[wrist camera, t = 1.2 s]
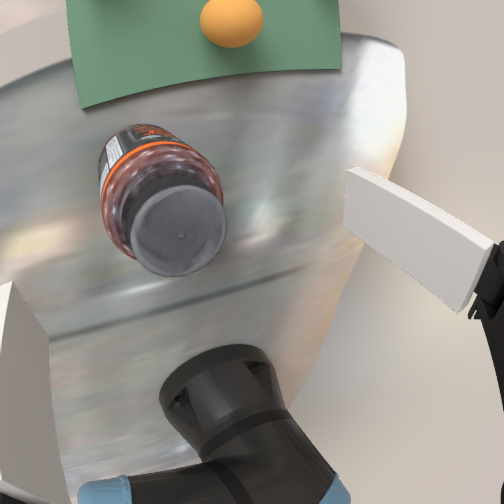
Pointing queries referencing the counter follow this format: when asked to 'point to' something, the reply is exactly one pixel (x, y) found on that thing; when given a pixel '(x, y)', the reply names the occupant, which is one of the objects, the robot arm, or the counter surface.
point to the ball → (231, 22)
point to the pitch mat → (189, 44)
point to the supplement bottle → (161, 201)
